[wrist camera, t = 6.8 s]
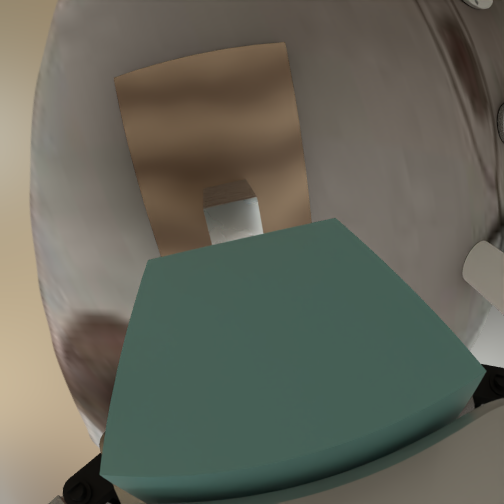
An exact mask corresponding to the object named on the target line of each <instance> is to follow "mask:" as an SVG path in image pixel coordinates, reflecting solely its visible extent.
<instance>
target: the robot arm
mask: <svg viewBox="0 0 504 504" xmlns="http://www.w3.org/2000/svg"><path fill="white" fill-rule="evenodd" d="M463 1H464V2H465V3H467V4H468V5H469V6H471V7H473V8H476V9H487V8H489V7H491V5H492V3H493V0H463ZM481 365H482V366H483V367H484V369H485V370H486V373H485V375H484V376H483V378H482V380H481V382H480V383H479V385H478V387H477V388H476V390H475V392H474V393H473V395H472V397H471V398H470V400H469V401H468V403H467V404H466V406H465V407H464V409H463V410H462V412H461V413H460V415H459V416H458V418H457V419H456V420H455V421H453V422H451V423H450V424H448V425H446V426H444V427H443V428H441V429H439V430H437V431H435V432H434V433H432V434H430V435H428V436H426V437H424V438H422V439H420V440H418V441H416V442H414V443H412V444H410V445H408V446H406V447H404V448H402V449H400V450H398V451H396V452H394V453H391V454H389V455H387V456H385V457H382V458H380V459H378V460H375V461H373V462H370V463H368V464H365V465H363V466H360V467H357V468H355V469H352V470H349V471H346V472H343V473H340V474H337V475H334V476H331V477H328V478H325V479H322V480H318V481H315V482H311V483H308V484H304V485H300V486H296V487H292V488H288V489H284V490H279V491H274V492H269V493H264V494H259V495H253V496H247V497H240V498H233V499H225V500H216V501H205V502H190V503H167V504H504V368H501V367H495V366H489V365H484V364H481ZM104 437H105V432H104V433H103V435H102V437H101V439H100V444H99V446H100V451H101V453H100V454H99V455H98V456H96V457H95V458H94V459H92V460H91V461H90V462H89V463H88V464H86V465H85V466H84V467H83V468H82V469H80V470H79V471H78V472H77V473H75V474H74V475H73V476H72V477H70V478H69V479H68V480H67V482H66V483H65V485H64V487H63V496H61V497H60V496H59V495H58V496H57V497H55V498H54V499H53V500H52V501H51V502H50V503H49V504H147V503H145V502H143V501H142V500H140V499H138V498H136V497H134V496H133V495H131V494H129V493H127V492H126V491H124V490H122V489H121V488H119V487H117V486H116V485H114V484H113V483H111V482H110V481H108V480H107V479H105V478H103V477H102V476H101V475H100V466H101V458H102V451H103V444H104Z"/></svg>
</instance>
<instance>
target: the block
mask: <svg viewBox="0 0 504 504" xmlns="http://www.w3.org/2000/svg"><path fill="white" fill-rule="evenodd" d="M203 211H204V215H205V219H206V223H207V227H208V231H209V235H210V239H211V243H212V245H215V244H219V243H224V242H228V241H233V240H237V239H241V238H246V237H250V236H255V235H259V234H263V229H262V223H261V217H260V211H259V206H258V200H257V196H256V195H255V193H254V191H253V190H252V188H251V187H250V185H249V183H248V182H247V180H246V179H245V180H240V181H235V182H230V183H226V184H221V185H217V186H212V187H208V188H204V189H203Z"/></svg>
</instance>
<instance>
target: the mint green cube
mask: <svg viewBox="0 0 504 504" xmlns="http://www.w3.org/2000/svg"><path fill="white" fill-rule="evenodd" d="M485 373H486V370H485V369H484V367H483V366H482V365H481V364H480V363H479V362H478V360H477V359H476V358H475V357H474V356H473V355H472V353H471V352H470V351H469V350H468V349H467V347H466V346H465V345H464V344H463V343H462V342H461V341H460V340H459V338H458V337H457V336H456V335H455V334H454V333H453V332H452V331H451V330H450V328H449V327H448V326H447V325H446V324H445V323H444V322H443V321H442V320H441V319H440V318H439V317H438V315H437V314H436V313H435V312H434V311H433V310H432V309H431V308H430V307H429V306H428V305H427V304H426V303H425V302H424V301H423V300H422V299H421V298H420V297H419V296H418V295H417V294H416V293H415V292H414V291H413V290H412V289H411V288H410V287H409V286H408V285H407V284H406V283H405V282H404V281H403V280H402V279H401V278H400V277H399V276H398V275H397V274H396V273H395V272H394V271H393V270H392V269H391V268H390V267H389V266H388V265H387V264H386V263H385V262H384V261H383V260H381V259H380V258H379V257H378V256H377V255H376V254H375V253H374V252H373V251H372V250H371V249H370V248H369V247H367V246H366V245H365V244H364V243H363V242H362V241H361V240H360V239H359V238H358V237H356V236H355V235H354V234H353V233H352V232H351V231H350V230H349V229H347V228H346V227H345V226H344V225H343V224H342V223H341V222H339V221H338V220H337V219H336V218H333V219H328V220H324V221H319V222H314V223H310V224H305V225H300V226H296V227H291V228H286V229H282V230H277V231H273V232H268V233H264V234H259V235H255V236H250V237H246V238H241V239H237V240H233V241H228V242H224V243H219V244H215V245H211V246H206V247H202V248H198V249H193V250H189V251H185V252H180V253H176V254H172V255H168V256H163V257H159V258H155V259H151V260H148V262H147V265H146V268H145V271H144V274H143V277H142V280H141V284H140V287H139V290H138V294H137V297H136V300H135V304H134V307H133V311H132V314H131V318H130V322H129V325H128V329H127V333H126V337H125V340H124V344H123V348H122V352H121V357H120V361H119V365H118V370H117V374H116V379H115V383H114V388H113V393H112V398H111V403H110V408H109V414H108V419H107V425H106V431H105V437H104V444H103V451H102V458H101V466H100V475H101V476H102V477H103V478H105V479H107V480H108V481H110V482H111V483H113V484H114V485H116V486H117V487H119V488H121V489H122V490H124V491H126V492H127V493H129V494H131V495H133V496H134V497H136V498H138V499H140V500H142V501H143V502H145V503H147V504H167V503H190V502H205V501H216V500H225V499H233V498H240V497H247V496H253V495H259V494H264V493H269V492H274V491H279V490H284V489H288V488H292V487H296V486H300V485H304V484H308V483H311V482H315V481H318V480H322V479H325V478H328V477H331V476H334V475H337V474H340V473H343V472H346V471H349V470H352V469H355V468H357V467H360V466H363V465H365V464H368V463H370V462H373V461H375V460H378V459H380V458H382V457H385V456H387V455H389V454H391V453H394V452H396V451H398V450H400V449H402V448H404V447H406V446H408V445H410V444H412V443H414V442H416V441H418V440H420V439H422V438H424V437H426V436H428V435H430V434H432V433H434V432H435V431H437V430H439V429H441V428H443V427H444V426H446V425H448V424H450V423H451V422H453V421H455V420H456V419H457V418H458V416H459V415H460V413H461V412H462V410H463V409H464V407H465V406H466V404H467V403H468V401H469V400H470V398H471V397H472V395H473V393H474V392H475V390H476V388H477V387H478V385H479V383H480V382H481V380H482V378H483V376H484V375H485Z"/></svg>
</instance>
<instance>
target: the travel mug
mask: <svg viewBox="0 0 504 504" xmlns="http://www.w3.org/2000/svg"><path fill="white" fill-rule="evenodd" d="M498 130H499V134H500V137H501V139H502V141H503V142H504V104H503V105H502V106H501V108H500V110H499V113H498Z"/></svg>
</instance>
